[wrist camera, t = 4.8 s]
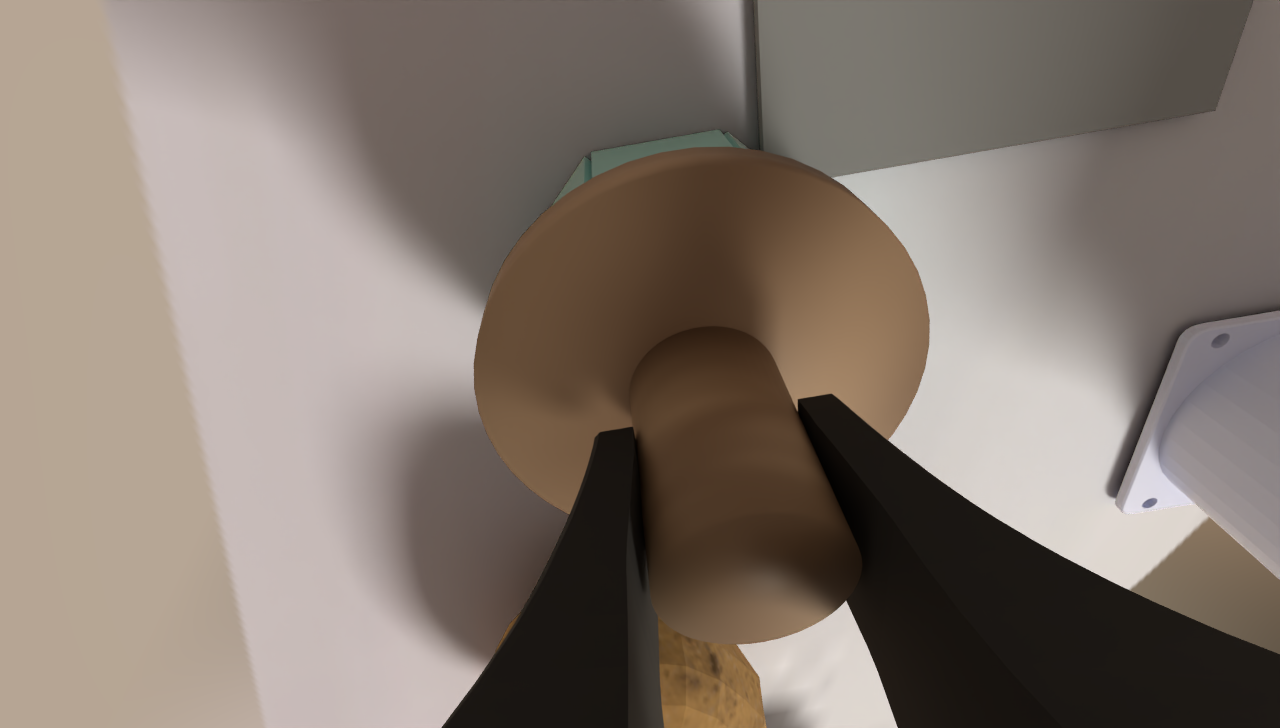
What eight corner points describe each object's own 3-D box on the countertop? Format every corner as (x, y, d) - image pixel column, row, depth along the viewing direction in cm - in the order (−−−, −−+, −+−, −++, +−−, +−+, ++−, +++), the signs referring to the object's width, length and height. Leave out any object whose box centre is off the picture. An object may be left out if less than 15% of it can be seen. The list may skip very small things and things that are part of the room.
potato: (738, 472, 21) (808, 711, 14) (739, 693, 29) (785, 915, 22) (451, 506, 21) (388, 763, 14) (530, 719, 29) (513, 950, 22)
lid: (952, 124, 11) (1220, 267, 6) (871, 486, 16) (985, 705, 11) (429, 170, 10) (316, 353, 6) (522, 522, 16) (499, 761, 11)
